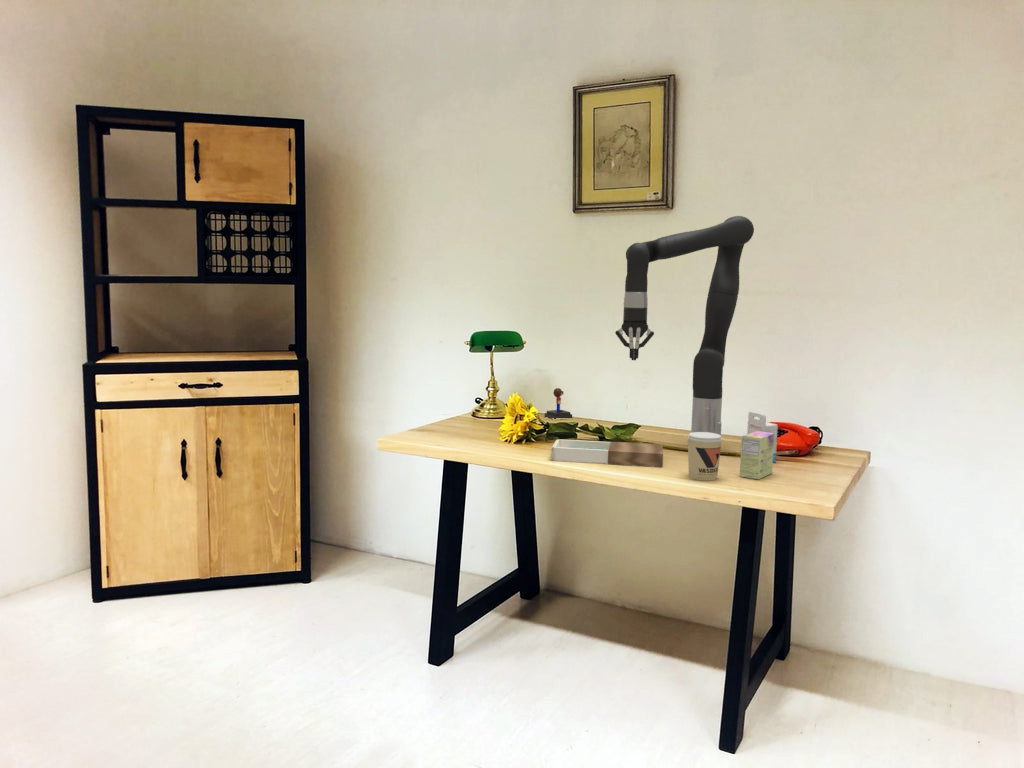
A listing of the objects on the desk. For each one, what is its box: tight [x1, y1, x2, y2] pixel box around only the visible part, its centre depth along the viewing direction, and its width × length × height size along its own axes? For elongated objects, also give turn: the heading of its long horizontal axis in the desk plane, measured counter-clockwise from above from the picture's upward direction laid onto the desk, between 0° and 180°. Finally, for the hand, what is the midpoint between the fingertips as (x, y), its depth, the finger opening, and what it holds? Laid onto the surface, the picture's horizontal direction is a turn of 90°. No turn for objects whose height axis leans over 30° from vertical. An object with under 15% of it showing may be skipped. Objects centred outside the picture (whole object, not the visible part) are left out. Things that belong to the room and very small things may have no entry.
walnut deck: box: [607, 441, 664, 468], centre depth 232 cm, size 16×14×4 cm
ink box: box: [746, 411, 779, 463], centre depth 234 cm, size 9×5×15 cm, turn 21°
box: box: [739, 431, 774, 480], centre depth 216 cm, size 10×6×12 cm, turn 141°
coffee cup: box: [687, 432, 723, 481], centre depth 212 cm, size 9×9×12 cm
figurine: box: [544, 387, 573, 419], centre depth 304 cm, size 8×8×12 cm
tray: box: [551, 438, 612, 465], centre depth 235 cm, size 17×13×4 cm
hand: (633, 360), depth 246 cm, fingers closed
